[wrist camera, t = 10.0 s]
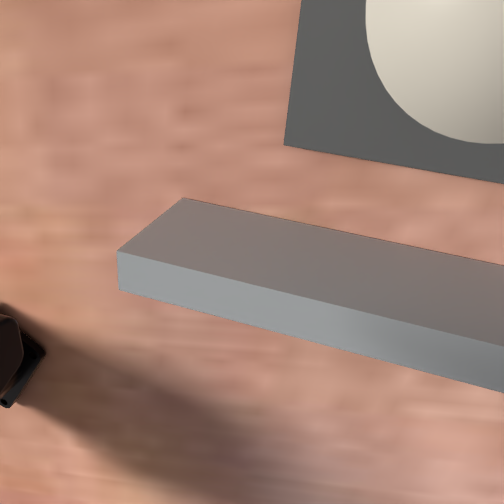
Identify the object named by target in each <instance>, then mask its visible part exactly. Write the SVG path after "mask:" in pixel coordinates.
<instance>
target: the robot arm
mask: <svg viewBox="0 0 504 504" xmlns="http://www.w3.org/2000/svg"><path fill="white" fill-rule="evenodd" d="M44 357H45V351H44V349H43V348H42V347H41V346H40V345H38V344H37V343H36V342H35V341H33V340H32V339H31V338H30V337H28V336H27V335H26V334H24V333H23V332H22V331H21V330H19V325H18V322H17V321H16V320H15V318H13V317H10V316H6V315H2V314H0V405H1V406H3V407H5V408H10V407H11V406H12V405H13V404H14V403H15V402H16V400H17V399H18V397H19V396H20V394H21V393H22V391H23V390H24V388H25V387H26V385H27V383H28V382H29V380H30V379H31V377H32V376H33V374H34V373H35V371H36V370H37V368H38V366H39V365H40V363H41V362H42V360H43V359H44Z"/></svg>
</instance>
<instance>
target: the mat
mask: <svg viewBox="0 0 504 504" xmlns="http://www.w3.org/2000/svg"><path fill="white" fill-rule="evenodd" d="M284 145H286V146H292V147H297V148H303V149H309V150H314V151H320V152H326V153H331V154H337V155H343V156H348V157H354V158H360V159H365V160H371V161H377V162H382V163H388V164H394V165H399V166H405V167H411V168H416V169H422V170H428V171H434V172H439V173H445V174H451V175H456V176H462V177H468V178H473V179H479V180H485V181H490V182H496V183H502V184H504V143H502V144H483V143H474V142H466V141H462V140H458V139H454V138H450V137H447V136H445V135H442V134H440V133H437V132H434V131H433V130H431V129H429V128H427V127H425V126H424V125H422V124H420V123H419V122H417V121H416V120H415V119H413V118H412V117H411V116H409V115H408V114H407V113H406V112H405V111H404V110H403V109H402V108H401V107H400V106H399V105H398V104H397V103H396V102H395V101H394V99H393V98H392V97H391V95H390V94H389V93H388V91H387V90H386V89H385V87H384V85H383V83H382V81H381V80H380V78H379V76H378V74H377V71H376V69H375V66H374V63H373V61H372V58H371V54H370V50H369V45H368V41H367V32H366V0H302V1H301V9H300V17H299V25H298V33H297V41H296V49H295V57H294V65H293V73H292V81H291V89H290V97H289V105H288V113H287V121H286V129H285V137H284Z"/></svg>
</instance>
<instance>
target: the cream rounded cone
mask: <svg viewBox="0 0 504 504" xmlns="http://www.w3.org/2000/svg"><path fill="white" fill-rule="evenodd" d="M366 32H367V41H368V45H369V50H370V54H371V58H372V61H373V63H374V66H375V69H376V71H377V74H378V76H379V78H380V80H381V81H382V83H383V85H384V87H385V89H386V90H387V91H388V93H389V94H390V95H391V97H392V98H393V99H394V101H395V102H396V103H397V104H398V105H399V106H400V107H401V108H402V109H403V110H404V111H405V112H406V113H407V114H408V115H409V116H411V117H412V118H413V119H415V120H416V121H417V122H419V123H420V124H422V125H424V126H425V127H427V128H429V129H431V130H433V131H434V132H437V133H440V134H442V135H445V136H447V137H450V138H454V139H458V140H462V141H466V142H474V143H483V144H502V143H504V0H366Z"/></svg>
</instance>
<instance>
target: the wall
mask: <svg viewBox="0 0 504 504" xmlns="http://www.w3.org/2000/svg"><path fill="white" fill-rule="evenodd" d="M117 266H118V285H119V290H121V291H125V292H128V293H132V294H136V295H140V296H143V297H147V298H151V299H155V300H158V301H162V302H166V303H170V304H173V305H177V306H181V307H184V308H188V309H192V310H196V311H199V312H203V313H207V314H211V315H214V316H218V317H222V318H226V319H229V320H233V321H237V322H240V323H244V324H248V325H252V326H255V327H259V328H263V329H267V330H270V331H274V332H278V333H282V334H285V335H289V336H293V337H297V338H300V339H304V340H308V341H311V342H315V343H319V344H323V345H326V346H330V347H334V348H338V349H341V350H345V351H349V352H353V353H356V354H360V355H364V356H367V357H371V358H375V359H379V360H382V361H386V362H390V363H394V364H397V365H401V366H405V367H409V368H412V369H416V370H420V371H423V372H427V373H431V374H435V375H438V376H442V377H446V378H450V379H453V380H457V381H461V382H465V383H468V384H472V385H476V386H479V387H483V388H487V389H491V390H494V391H498V392H502V393H504V266H502V265H497V264H493V263H488V262H483V261H479V260H474V259H469V258H464V257H460V256H455V255H450V254H446V253H441V252H436V251H431V250H427V249H422V248H417V247H413V246H408V245H403V244H398V243H394V242H389V241H384V240H380V239H375V238H370V237H365V236H361V235H356V234H351V233H346V232H342V231H337V230H332V229H328V228H323V227H318V226H313V225H309V224H304V223H299V222H295V221H290V220H285V219H280V218H276V217H271V216H266V215H262V214H257V213H252V212H247V211H243V210H238V209H233V208H229V207H224V206H219V205H214V204H210V203H205V202H200V201H196V200H191V199H186V198H182V199H181V200H179V201H178V202H177V203H176V204H174V205H173V206H172V207H171V208H169V209H168V210H167V211H166V212H164V213H163V214H162V215H161V216H159V217H158V218H157V219H156V220H154V221H153V222H152V223H151V224H149V225H148V226H147V227H146V228H144V229H143V230H142V231H141V232H139V233H138V234H137V235H136V236H135V237H133V238H132V239H131V240H130V241H128V242H127V243H126V244H125V245H123V246H122V247H121V248H120V249H118V250H117Z"/></svg>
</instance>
